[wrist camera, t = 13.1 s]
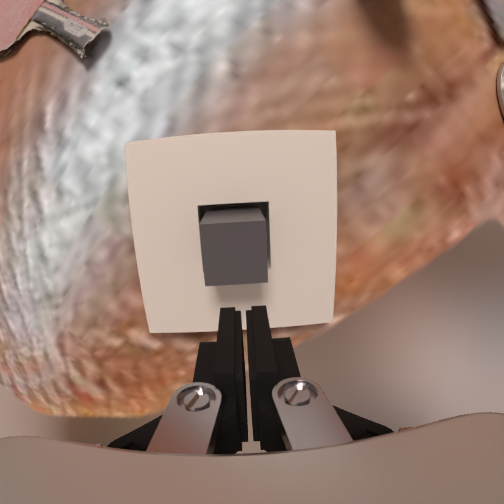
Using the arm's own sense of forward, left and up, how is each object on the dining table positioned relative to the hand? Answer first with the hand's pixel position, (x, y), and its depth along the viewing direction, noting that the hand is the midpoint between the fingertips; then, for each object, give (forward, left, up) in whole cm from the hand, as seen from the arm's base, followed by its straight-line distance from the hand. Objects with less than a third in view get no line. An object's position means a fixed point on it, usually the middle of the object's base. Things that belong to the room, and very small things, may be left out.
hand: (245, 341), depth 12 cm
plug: (0, 0, -20) cm, 20 cm away
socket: (0, 0, -20) cm, 20 cm away
